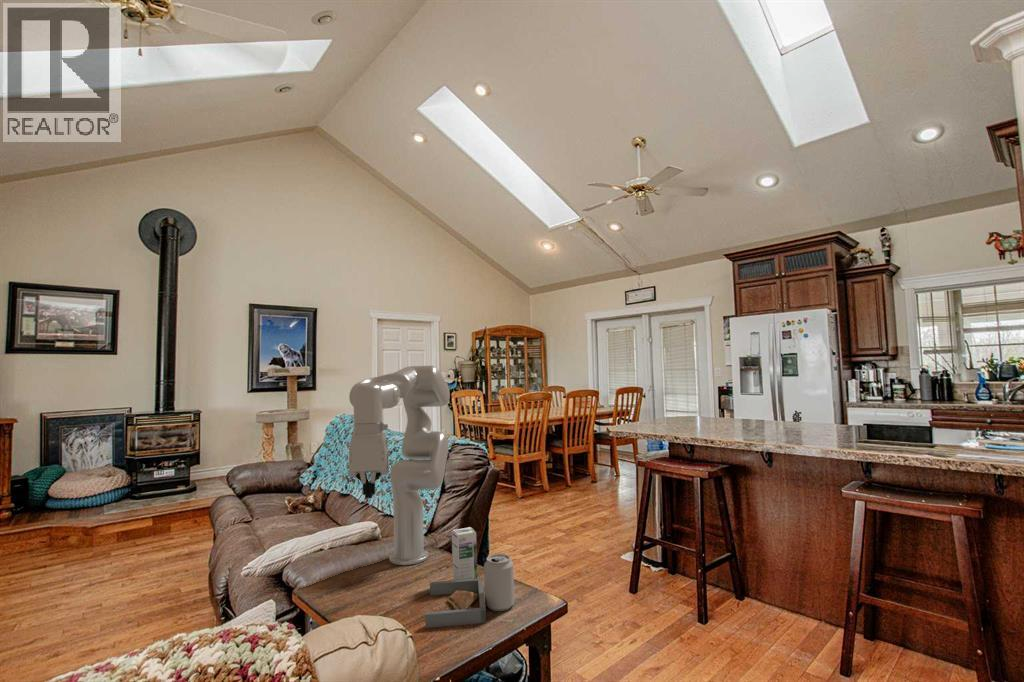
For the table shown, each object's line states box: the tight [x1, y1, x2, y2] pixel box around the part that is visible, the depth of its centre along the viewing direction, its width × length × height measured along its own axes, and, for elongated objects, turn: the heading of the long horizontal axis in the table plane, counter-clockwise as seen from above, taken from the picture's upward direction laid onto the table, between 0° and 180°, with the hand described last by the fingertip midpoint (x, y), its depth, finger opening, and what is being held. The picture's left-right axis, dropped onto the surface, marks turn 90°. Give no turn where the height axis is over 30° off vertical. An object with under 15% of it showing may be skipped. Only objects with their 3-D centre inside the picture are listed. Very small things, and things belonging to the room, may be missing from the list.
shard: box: [446, 590, 479, 610], centre depth 124 cm, size 11×8×2 cm
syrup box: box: [451, 526, 479, 580], centre depth 139 cm, size 6×6×14 cm
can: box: [483, 553, 515, 612], centre depth 124 cm, size 8×8×12 cm
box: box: [424, 577, 487, 629], centre depth 123 cm, size 18×14×3 cm
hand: (369, 497), depth 131 cm, fingers closed
